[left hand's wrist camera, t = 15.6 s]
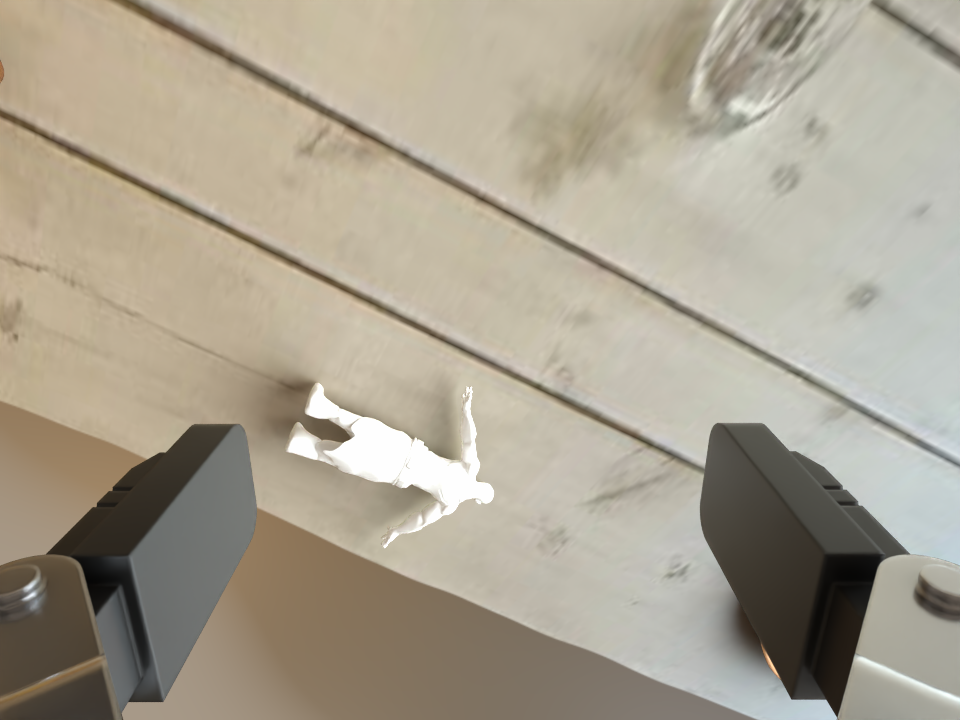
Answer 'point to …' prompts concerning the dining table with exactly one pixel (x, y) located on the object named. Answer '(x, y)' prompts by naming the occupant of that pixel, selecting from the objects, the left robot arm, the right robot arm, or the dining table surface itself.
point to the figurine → (395, 459)
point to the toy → (1, 72)
